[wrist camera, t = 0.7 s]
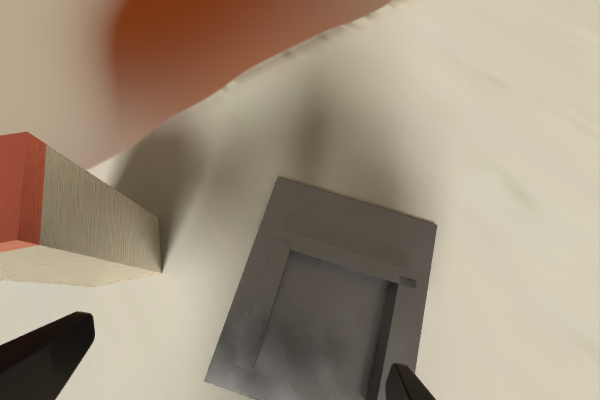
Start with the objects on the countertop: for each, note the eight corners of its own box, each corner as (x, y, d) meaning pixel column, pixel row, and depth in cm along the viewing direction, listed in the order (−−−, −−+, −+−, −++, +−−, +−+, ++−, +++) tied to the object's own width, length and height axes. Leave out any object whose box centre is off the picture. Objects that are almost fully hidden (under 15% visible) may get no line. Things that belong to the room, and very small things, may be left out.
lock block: (161, 273, 23) (17, 239, 10) (93, 287, 22) (-144, 269, 10) (158, 215, 24) (27, 126, 12) (94, 226, 24) (-112, 146, 11)
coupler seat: (400, 447, 20) (417, 467, 17) (205, 379, 21) (194, 390, 18) (434, 226, 25) (451, 218, 23) (278, 178, 26) (277, 165, 23)
